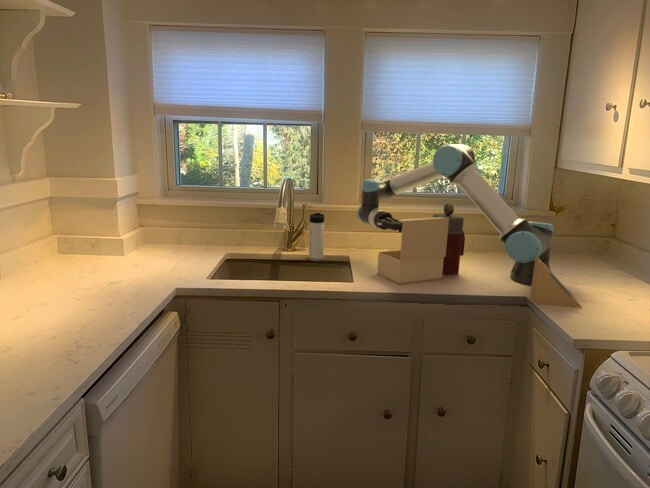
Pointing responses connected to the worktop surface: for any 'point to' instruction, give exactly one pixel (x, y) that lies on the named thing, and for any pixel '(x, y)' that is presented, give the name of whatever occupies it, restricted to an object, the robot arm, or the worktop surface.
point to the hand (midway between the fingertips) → (413, 230)
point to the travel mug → (316, 237)
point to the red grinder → (453, 241)
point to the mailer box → (408, 268)
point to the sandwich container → (549, 288)
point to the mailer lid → (424, 238)
